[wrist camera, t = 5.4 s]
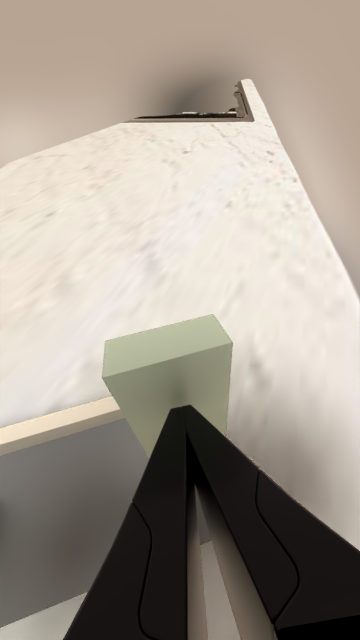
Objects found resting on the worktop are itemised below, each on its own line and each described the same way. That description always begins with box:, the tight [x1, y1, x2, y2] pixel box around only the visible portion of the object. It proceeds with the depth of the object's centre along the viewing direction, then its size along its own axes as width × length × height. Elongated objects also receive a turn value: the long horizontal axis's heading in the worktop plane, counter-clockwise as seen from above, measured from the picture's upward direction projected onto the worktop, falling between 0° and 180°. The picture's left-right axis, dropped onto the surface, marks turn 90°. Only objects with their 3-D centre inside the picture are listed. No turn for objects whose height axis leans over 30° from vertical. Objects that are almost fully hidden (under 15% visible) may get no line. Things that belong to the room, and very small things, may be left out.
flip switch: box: [102, 314, 233, 458], centre depth 9 cm, size 2×4×9 cm, turn 107°
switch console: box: [0, 396, 211, 628], centre depth 11 cm, size 8×18×5 cm, turn 106°
